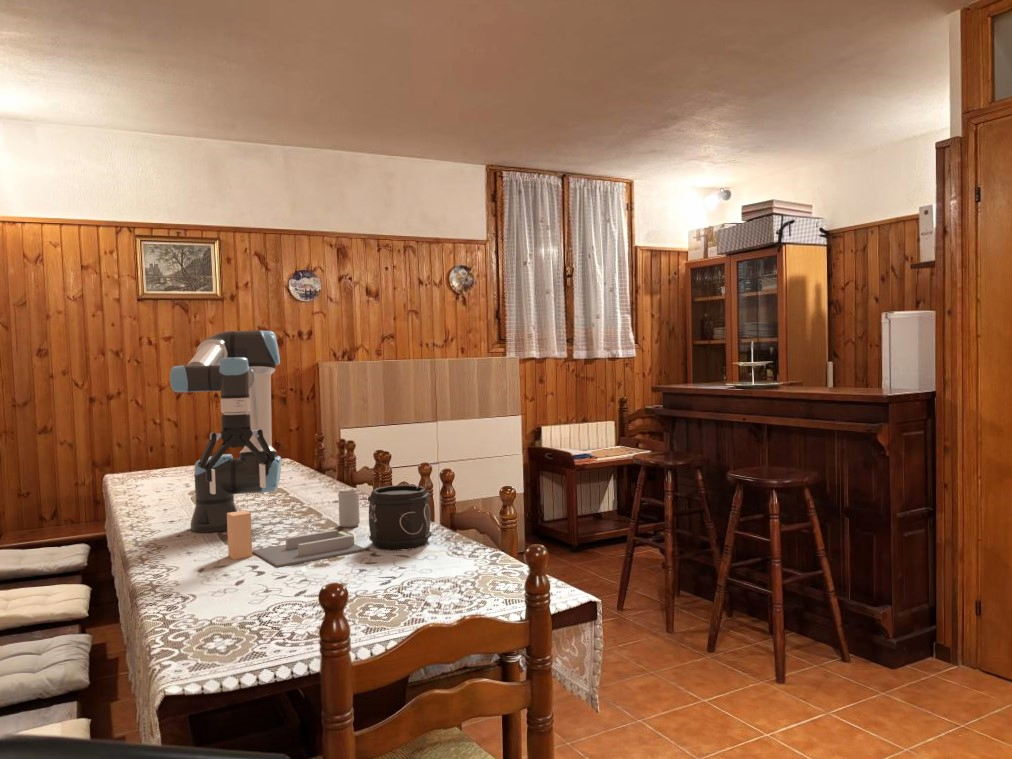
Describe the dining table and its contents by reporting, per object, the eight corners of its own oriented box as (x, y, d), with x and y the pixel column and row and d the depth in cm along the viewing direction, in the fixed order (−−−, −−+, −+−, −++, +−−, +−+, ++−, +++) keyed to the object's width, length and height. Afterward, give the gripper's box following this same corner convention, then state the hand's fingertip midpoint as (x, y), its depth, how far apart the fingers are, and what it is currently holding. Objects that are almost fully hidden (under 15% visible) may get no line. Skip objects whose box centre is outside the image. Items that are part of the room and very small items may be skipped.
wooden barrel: (443, 538, 224) (442, 485, 223) (411, 553, 207) (409, 496, 207) (392, 533, 231) (391, 482, 231) (357, 547, 215) (355, 493, 214)
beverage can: (355, 528, 239) (353, 490, 239) (336, 528, 241) (334, 490, 240) (362, 524, 246) (361, 487, 245) (344, 523, 247) (343, 487, 246)
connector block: (228, 556, 209) (226, 513, 209) (246, 552, 212) (245, 510, 212) (233, 559, 205) (232, 515, 205) (252, 556, 208) (250, 513, 208)
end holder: (252, 552, 213) (252, 539, 213) (335, 537, 228) (335, 525, 227) (277, 567, 197) (276, 553, 196) (365, 550, 211) (364, 537, 211)
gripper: (191, 417, 197) (194, 498, 198) (285, 411, 212) (287, 486, 213) (184, 415, 203) (187, 494, 204) (275, 410, 218) (278, 483, 219)
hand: (238, 490), depth 208 cm, fingers open, 13 cm apart
